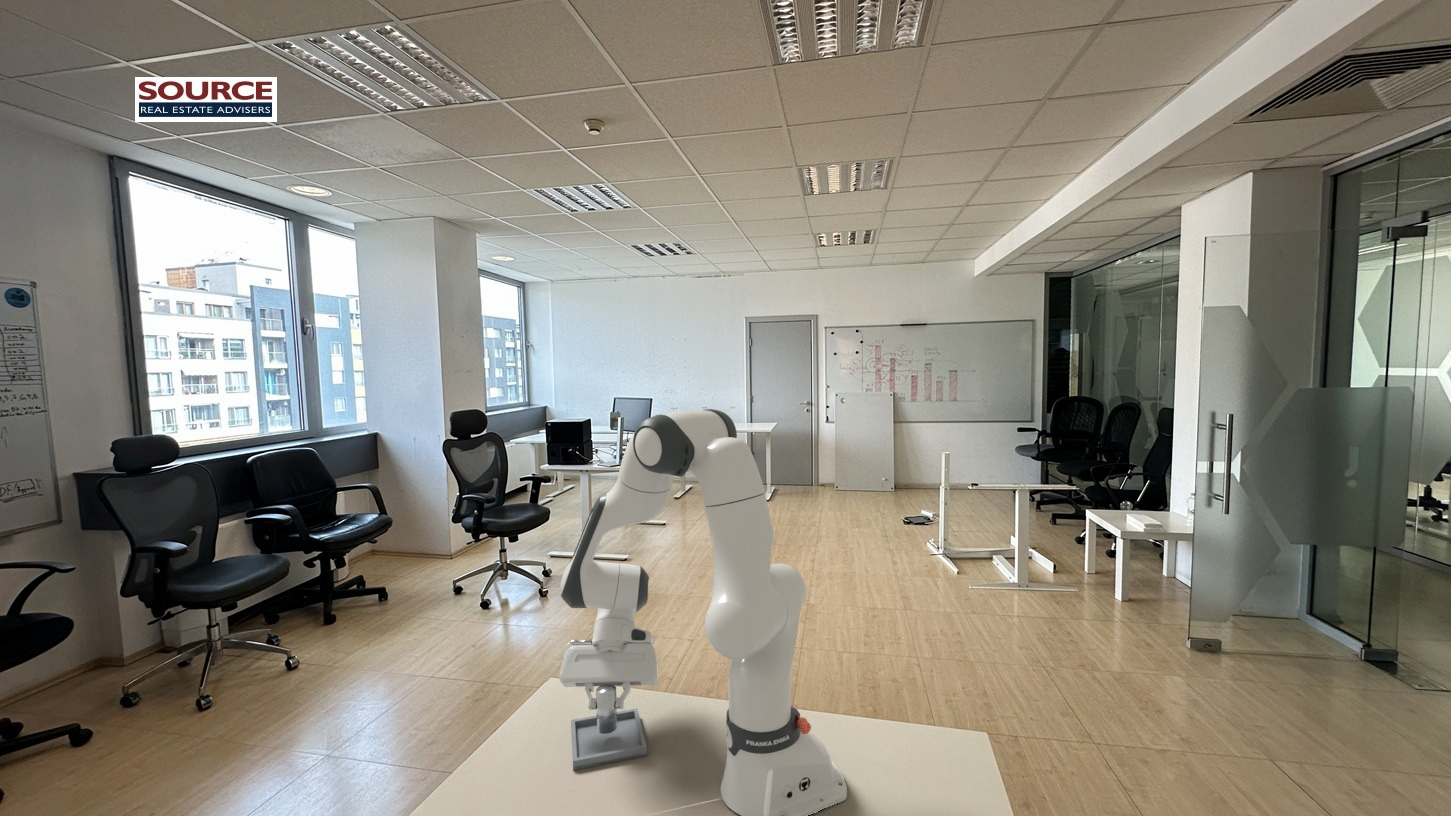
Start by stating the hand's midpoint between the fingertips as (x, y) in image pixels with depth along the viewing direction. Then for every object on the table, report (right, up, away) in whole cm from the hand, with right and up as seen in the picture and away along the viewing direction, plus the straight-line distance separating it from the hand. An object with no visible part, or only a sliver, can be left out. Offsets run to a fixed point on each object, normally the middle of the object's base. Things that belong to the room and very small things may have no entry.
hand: (605, 708), depth 116 cm
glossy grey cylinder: (0, -4, +1) cm, 4 cm away
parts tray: (0, -7, +1) cm, 7 cm away
